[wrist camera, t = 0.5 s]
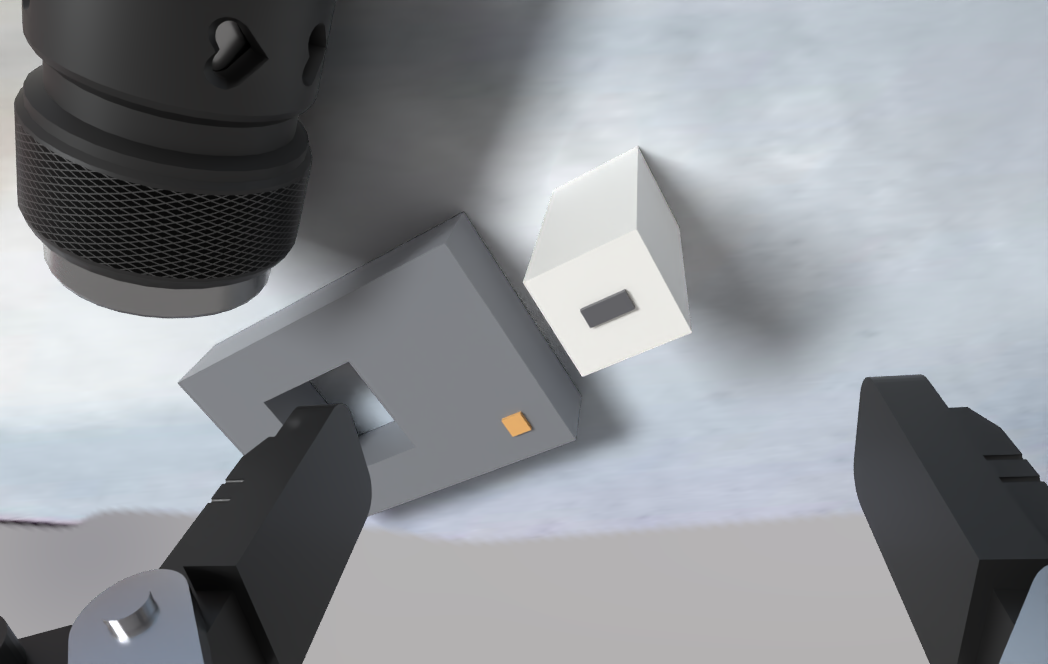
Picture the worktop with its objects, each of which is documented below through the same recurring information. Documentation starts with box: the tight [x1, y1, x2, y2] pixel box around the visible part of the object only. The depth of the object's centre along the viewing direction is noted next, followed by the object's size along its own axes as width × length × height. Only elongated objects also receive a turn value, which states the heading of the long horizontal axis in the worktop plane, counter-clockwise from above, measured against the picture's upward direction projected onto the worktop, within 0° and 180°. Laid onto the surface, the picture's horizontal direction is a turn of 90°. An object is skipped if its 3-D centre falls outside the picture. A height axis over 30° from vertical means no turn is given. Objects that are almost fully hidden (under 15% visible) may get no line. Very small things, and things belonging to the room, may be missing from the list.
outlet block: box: [178, 212, 582, 516], centre depth 35 cm, size 16×11×4 cm
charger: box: [523, 146, 692, 377], centre depth 26 cm, size 4×4×9 cm
